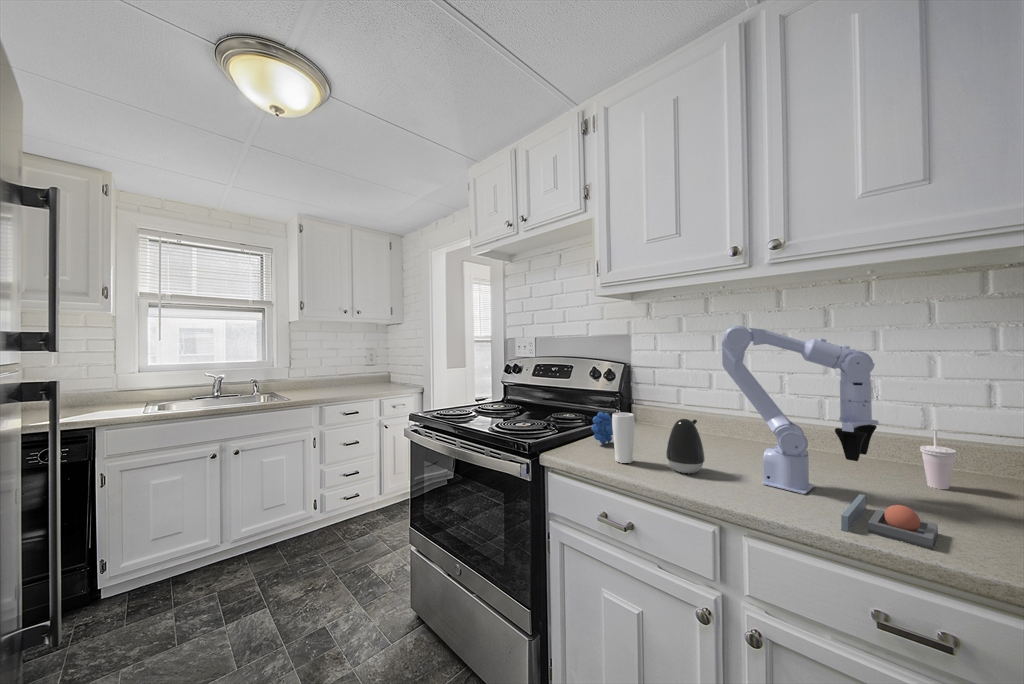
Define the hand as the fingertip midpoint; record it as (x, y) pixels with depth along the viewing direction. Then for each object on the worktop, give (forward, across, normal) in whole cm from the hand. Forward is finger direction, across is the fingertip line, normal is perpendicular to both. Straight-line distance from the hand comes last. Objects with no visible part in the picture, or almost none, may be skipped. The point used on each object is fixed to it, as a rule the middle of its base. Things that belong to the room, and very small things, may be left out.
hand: (856, 456), depth 96 cm
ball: (+6, -17, -10) cm, 21 cm away
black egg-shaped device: (+10, -13, +36) cm, 39 cm away
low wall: (+9, -15, -3) cm, 18 cm away
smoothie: (+10, +22, -11) cm, 26 cm away
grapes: (+9, -8, +70) cm, 71 cm away
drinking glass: (+9, -20, +53) cm, 57 cm away
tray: (+10, -16, -10) cm, 21 cm away
